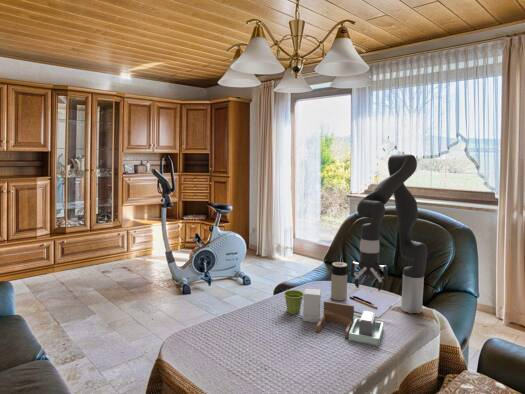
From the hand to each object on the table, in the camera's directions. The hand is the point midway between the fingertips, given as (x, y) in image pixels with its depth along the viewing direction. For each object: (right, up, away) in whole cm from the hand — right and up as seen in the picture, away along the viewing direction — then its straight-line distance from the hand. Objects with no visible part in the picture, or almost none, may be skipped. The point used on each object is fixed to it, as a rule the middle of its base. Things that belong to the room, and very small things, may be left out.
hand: (368, 288), depth 156 cm
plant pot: (-28, -17, +25) cm, 42 cm away
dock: (-12, -19, +8) cm, 24 cm away
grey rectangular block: (0, -19, +2) cm, 19 cm away
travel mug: (-4, -15, +42) cm, 45 cm away
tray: (0, -20, +2) cm, 20 cm away
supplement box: (-21, -18, +18) cm, 33 cm away
